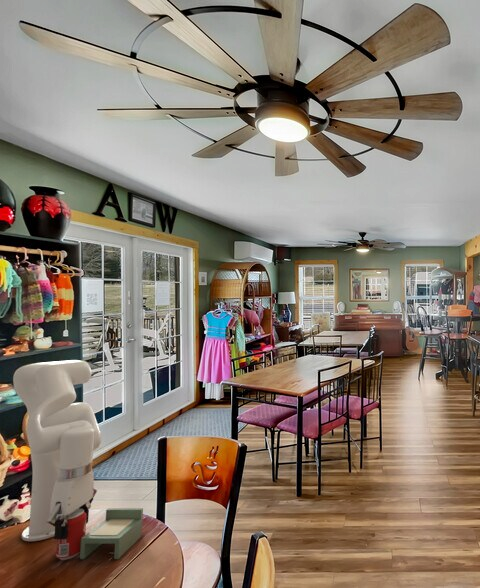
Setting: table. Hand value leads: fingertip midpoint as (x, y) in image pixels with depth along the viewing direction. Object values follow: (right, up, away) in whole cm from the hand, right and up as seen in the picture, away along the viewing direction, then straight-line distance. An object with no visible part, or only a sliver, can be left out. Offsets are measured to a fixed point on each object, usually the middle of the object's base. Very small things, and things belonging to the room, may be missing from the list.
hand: (71, 530), depth 102 cm
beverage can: (0, -7, 0) cm, 7 cm away
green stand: (+10, -7, +3) cm, 13 cm away
